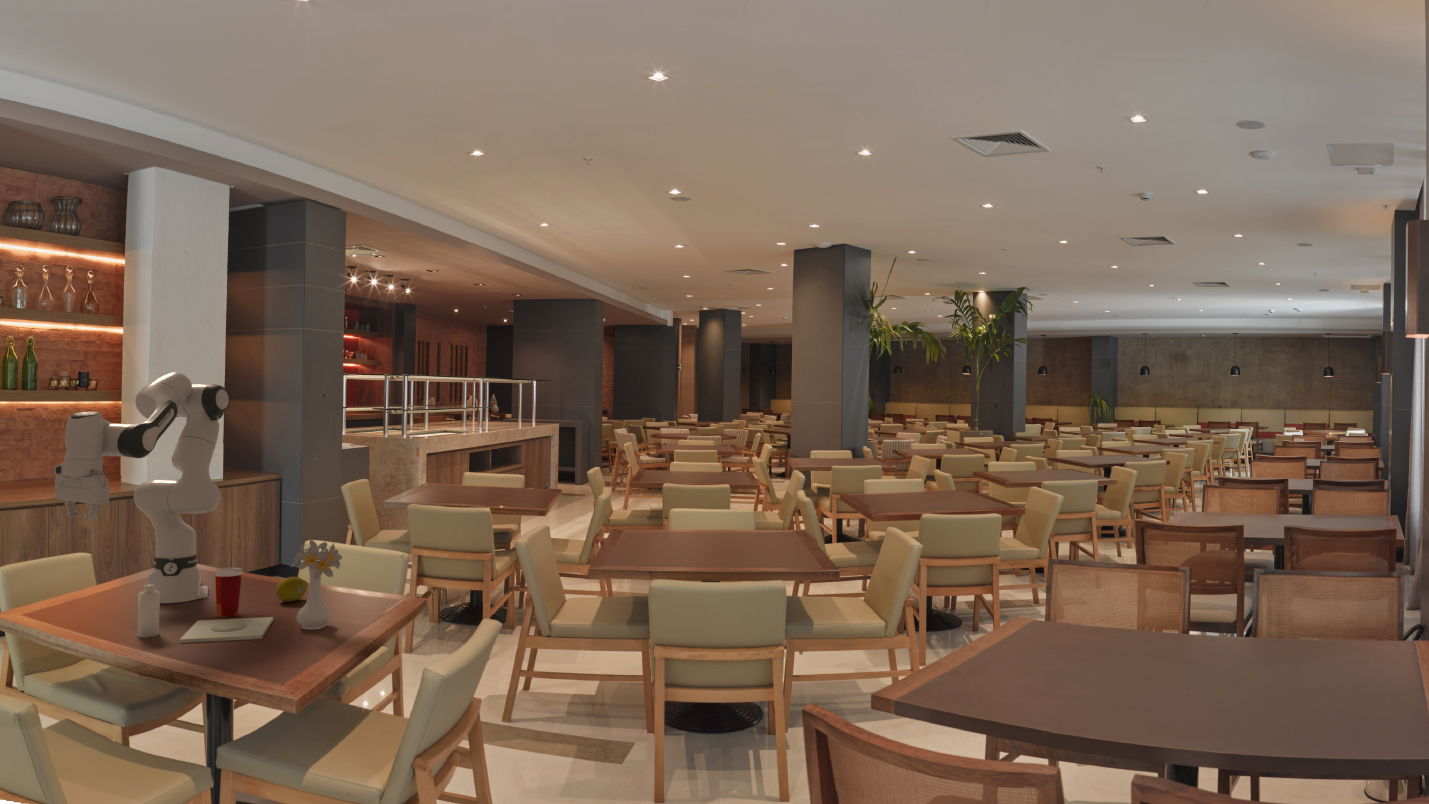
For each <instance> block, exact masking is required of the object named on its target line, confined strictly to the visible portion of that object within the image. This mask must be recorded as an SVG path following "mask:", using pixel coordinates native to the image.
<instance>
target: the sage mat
mask: <svg viewBox="0 0 1429 804" xmlns="http://www.w3.org/2000/svg"><path fill="white" fill-rule="evenodd" d="M273 621H274V617H273V616H267V617H266V616H265V617H245V618H243V617H242V618H241V617H240V618H224V619H220V618H219V619H201V620H200V619H199V620H197V621H196V622H194V624H193V625H192V626H191V627H190V628H189V629H188V630H187V631H186V632H185V633H184V634H183V635H182V636H181V637H180V638H179V644H186V643H187V644H189V643H205V642H225V641H238V640H239V641H243V640H261V639H262V638H263V637H264V636H263V635H265V634H266V632H267V631H268V629H269V628H270V627H271V625H270V624H272V623H273ZM268 627H269V628H268Z"/></svg>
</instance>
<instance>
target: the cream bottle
mask: <svg viewBox="0 0 1429 804" xmlns="http://www.w3.org/2000/svg"><path fill="white" fill-rule="evenodd" d="M137 603H138V604H137V626H136V627H137V629H136V630H137V633H136V635H137V638H141V639H143V638H145V639H147V638H154V637H157V636H159V633H160V607H161V606H160V605H161V603H160V591H157V590H155V585H154V584H148V585H147V584H144V589H143V590H142V591H139V592H138V602H137Z"/></svg>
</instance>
